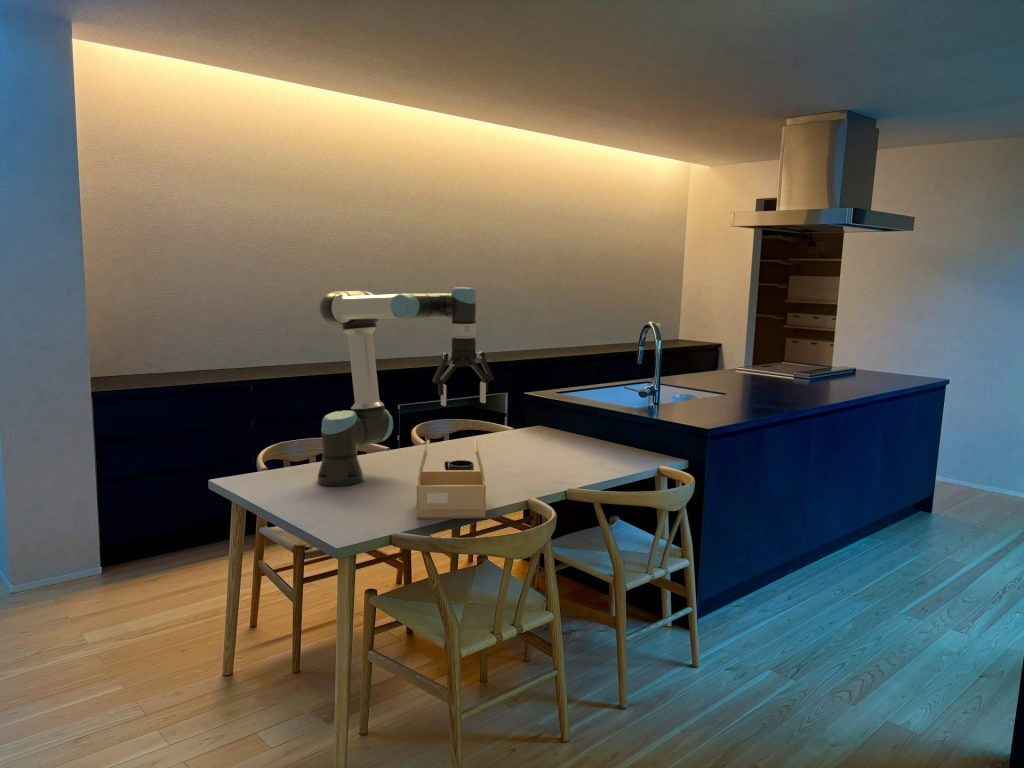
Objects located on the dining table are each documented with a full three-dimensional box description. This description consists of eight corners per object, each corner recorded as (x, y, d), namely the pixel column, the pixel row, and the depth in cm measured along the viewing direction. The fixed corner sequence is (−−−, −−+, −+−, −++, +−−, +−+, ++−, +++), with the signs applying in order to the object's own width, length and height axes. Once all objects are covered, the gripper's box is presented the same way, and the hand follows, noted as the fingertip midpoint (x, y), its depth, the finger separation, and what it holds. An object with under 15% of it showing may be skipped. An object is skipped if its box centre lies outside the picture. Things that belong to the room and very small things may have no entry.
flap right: (482, 467, 229) (475, 439, 227) (484, 480, 214) (477, 451, 213) (481, 467, 229) (473, 440, 227) (482, 480, 214) (475, 451, 213)
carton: (416, 519, 213) (416, 486, 211) (419, 501, 230) (419, 470, 229) (485, 519, 215) (485, 486, 213) (483, 500, 232) (483, 470, 230)
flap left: (417, 480, 213) (425, 451, 212) (419, 467, 227) (427, 440, 226) (419, 481, 213) (427, 451, 212) (421, 467, 227) (429, 440, 226)
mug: (455, 483, 250) (456, 456, 249) (478, 491, 242) (478, 463, 240) (436, 488, 245) (436, 460, 243) (458, 496, 236) (459, 467, 235)
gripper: (430, 339, 220) (430, 408, 223) (504, 337, 232) (503, 403, 235) (421, 337, 227) (422, 404, 230) (494, 335, 238) (493, 399, 241)
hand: (463, 404), depth 233 cm, fingers open, 13 cm apart
